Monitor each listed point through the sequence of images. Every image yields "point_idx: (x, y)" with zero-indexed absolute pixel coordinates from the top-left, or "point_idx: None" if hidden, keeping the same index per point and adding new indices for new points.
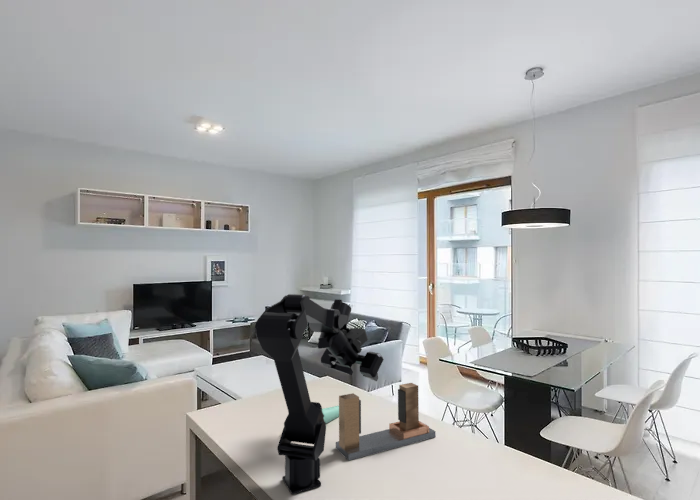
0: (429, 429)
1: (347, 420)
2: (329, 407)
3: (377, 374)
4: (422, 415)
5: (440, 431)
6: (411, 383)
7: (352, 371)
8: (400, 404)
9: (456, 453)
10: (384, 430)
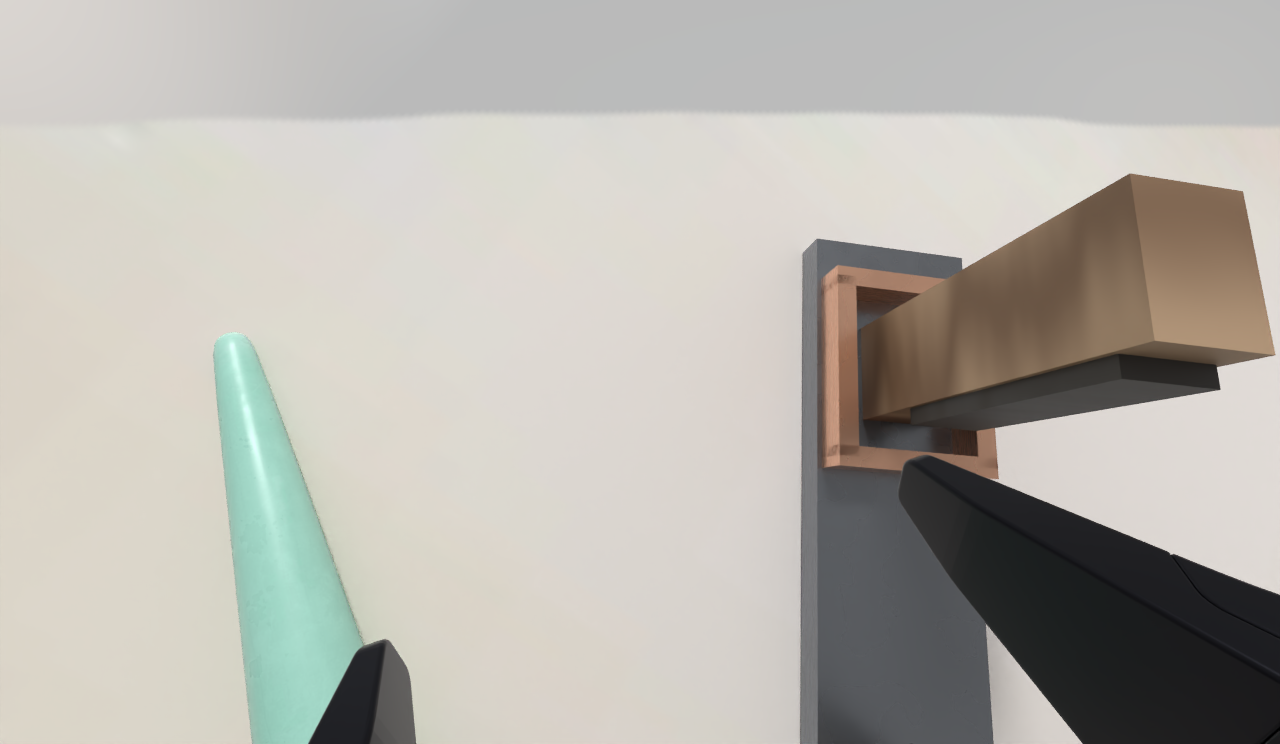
0: (929, 267)
1: None
2: (283, 735)
3: (1039, 507)
4: (678, 118)
5: (896, 200)
6: (1153, 192)
7: (388, 666)
8: (1035, 409)
9: None
10: (821, 506)
